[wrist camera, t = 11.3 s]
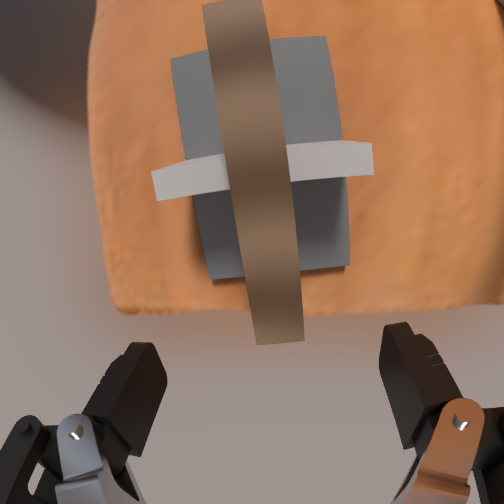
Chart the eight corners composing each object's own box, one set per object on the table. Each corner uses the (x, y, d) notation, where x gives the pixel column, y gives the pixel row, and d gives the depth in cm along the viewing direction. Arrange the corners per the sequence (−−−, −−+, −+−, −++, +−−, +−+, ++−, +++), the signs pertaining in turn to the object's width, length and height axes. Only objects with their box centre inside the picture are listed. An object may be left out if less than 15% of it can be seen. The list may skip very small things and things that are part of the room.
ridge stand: (175, 62, 23) (132, 35, 14) (322, 40, 21) (345, 0, 12) (212, 272, 31) (190, 326, 22) (346, 258, 29) (372, 309, 20)
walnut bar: (214, 26, 14) (201, 5, 11) (262, 18, 13) (260, -5, 10) (259, 314, 21) (257, 344, 18) (300, 310, 21) (304, 340, 18)
